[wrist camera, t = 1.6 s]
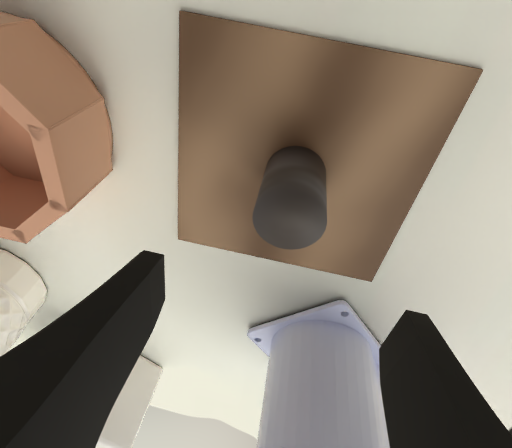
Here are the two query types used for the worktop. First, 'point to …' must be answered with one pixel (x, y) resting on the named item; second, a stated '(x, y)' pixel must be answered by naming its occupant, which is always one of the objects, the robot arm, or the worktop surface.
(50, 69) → the bowl
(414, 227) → the worktop surface
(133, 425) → the medicine bottle
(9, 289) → the white cup
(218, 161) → the lid
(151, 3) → the worktop surface
